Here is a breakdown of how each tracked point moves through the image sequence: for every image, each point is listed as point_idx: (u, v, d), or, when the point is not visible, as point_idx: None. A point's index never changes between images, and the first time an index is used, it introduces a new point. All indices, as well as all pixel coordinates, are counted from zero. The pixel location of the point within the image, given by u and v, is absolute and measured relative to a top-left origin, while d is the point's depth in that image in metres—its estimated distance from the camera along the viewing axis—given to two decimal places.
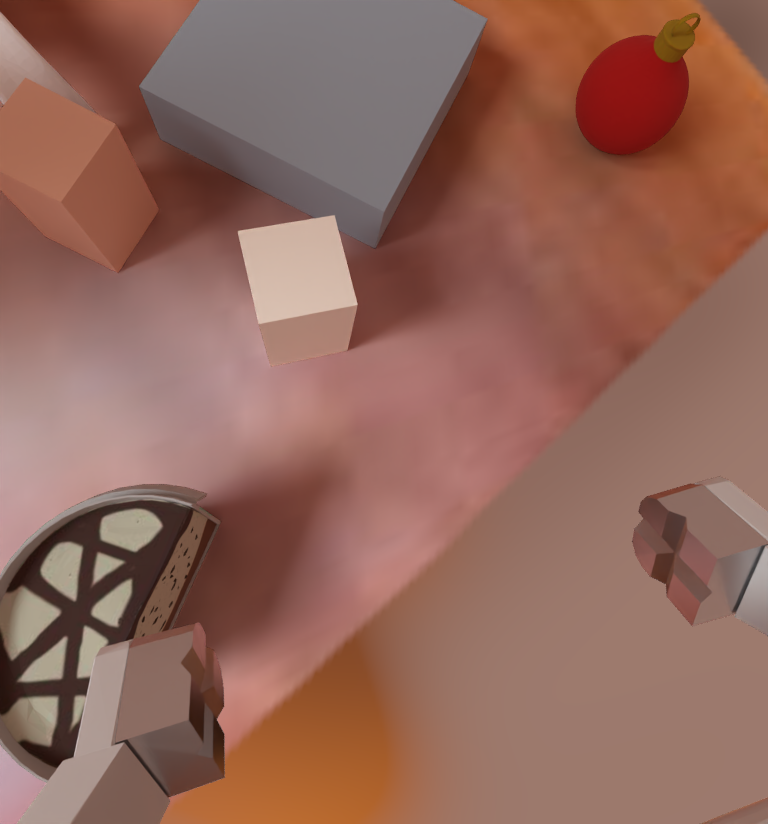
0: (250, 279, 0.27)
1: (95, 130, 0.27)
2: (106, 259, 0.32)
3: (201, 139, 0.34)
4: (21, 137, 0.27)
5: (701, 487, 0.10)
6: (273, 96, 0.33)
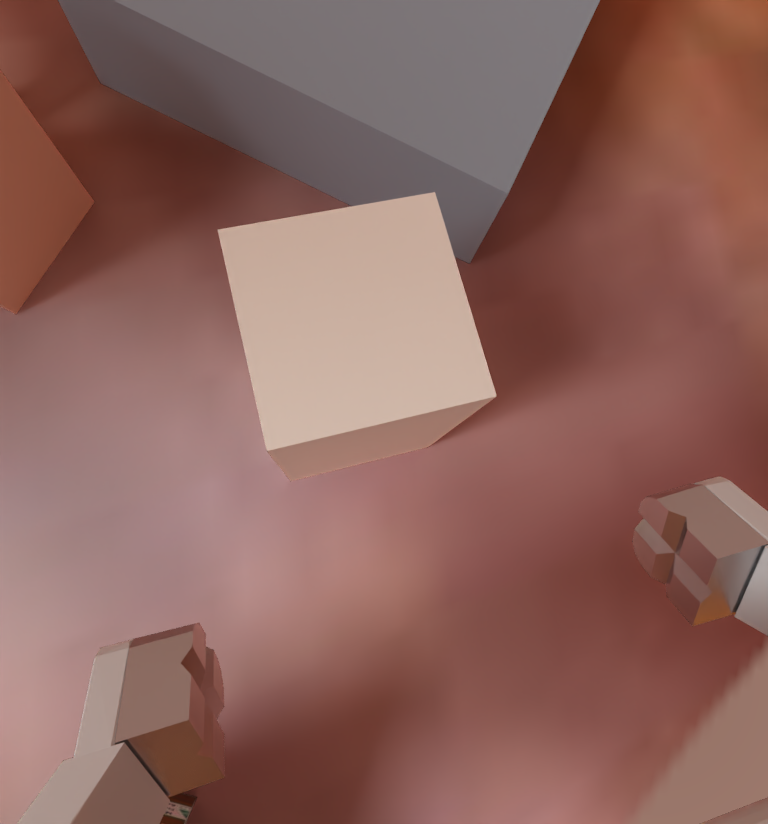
0: (247, 342, 0.11)
1: None
2: None
3: (164, 71, 0.19)
4: None
5: (701, 487, 0.10)
6: None
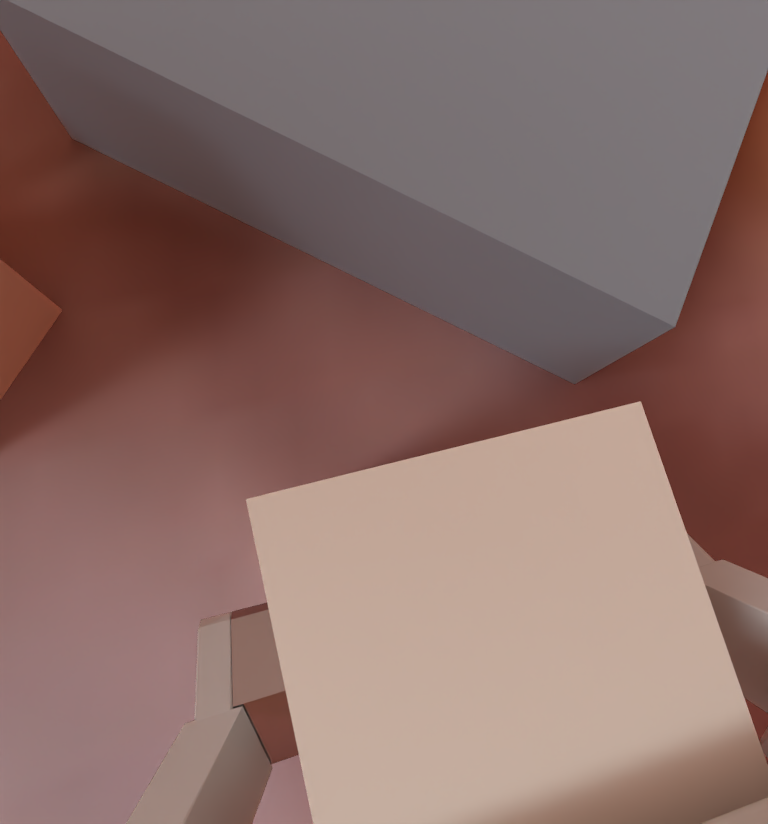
0: (306, 748, 0.06)
1: None
2: None
3: (156, 131, 0.13)
4: None
5: None
6: (348, 8, 0.12)
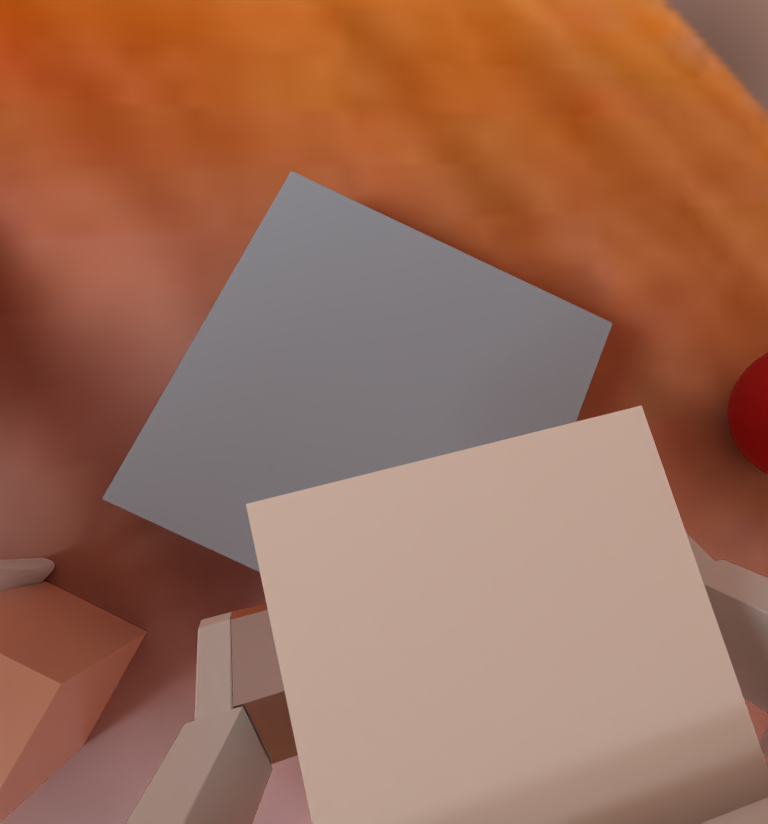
0: (306, 754, 0.06)
1: (25, 701, 0.16)
2: (61, 763, 0.21)
3: None
4: None
5: None
6: None
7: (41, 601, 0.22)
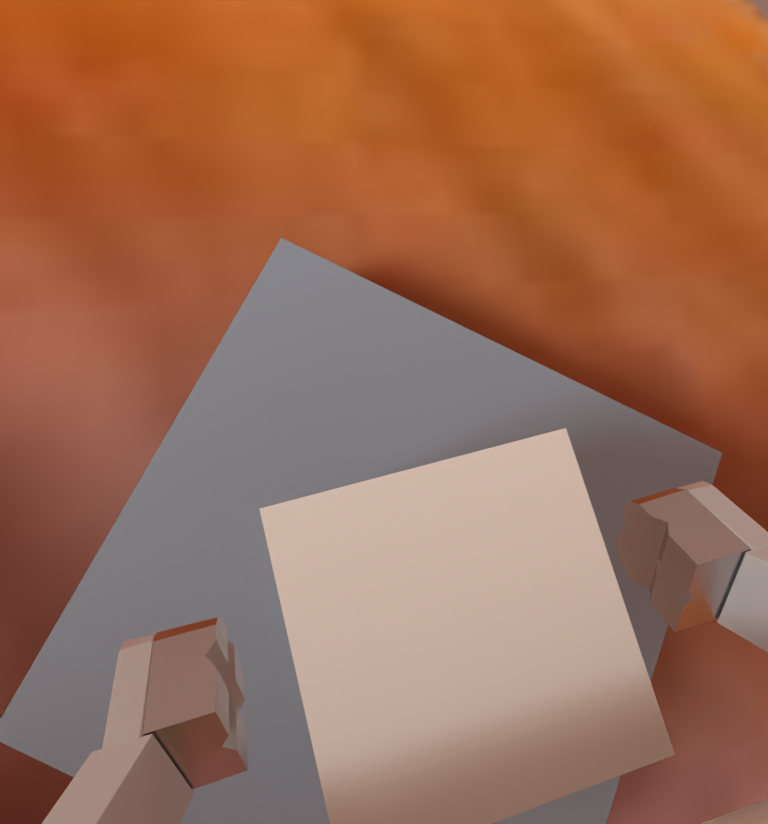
0: (307, 694, 0.08)
1: None
2: None
3: None
4: None
5: (684, 492, 0.10)
6: (293, 715, 0.15)
7: None
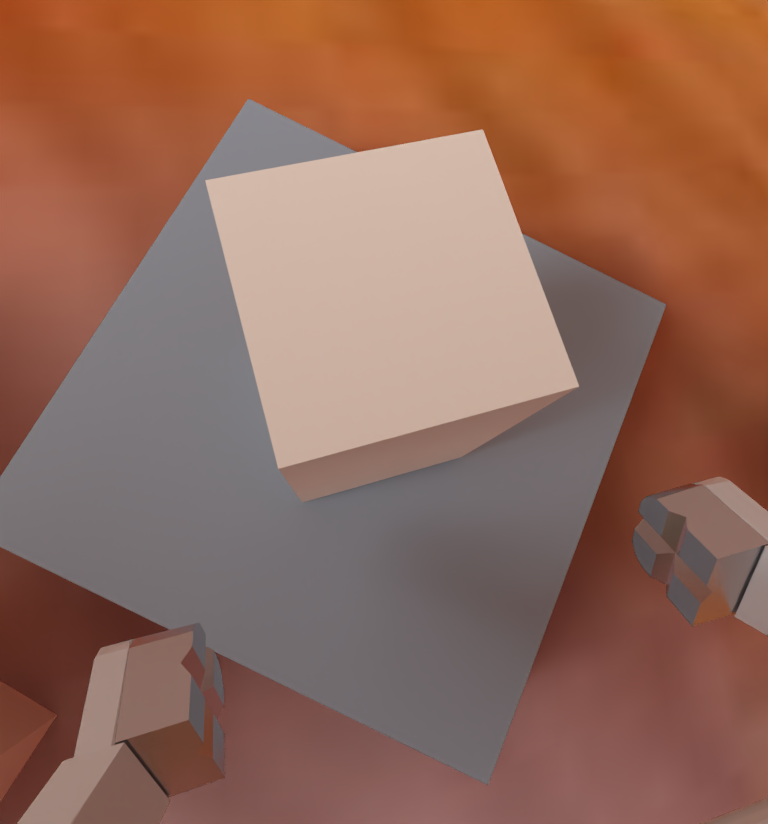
0: (247, 324, 0.08)
1: None
2: None
3: None
4: None
5: (701, 487, 0.10)
6: (251, 522, 0.16)
7: None
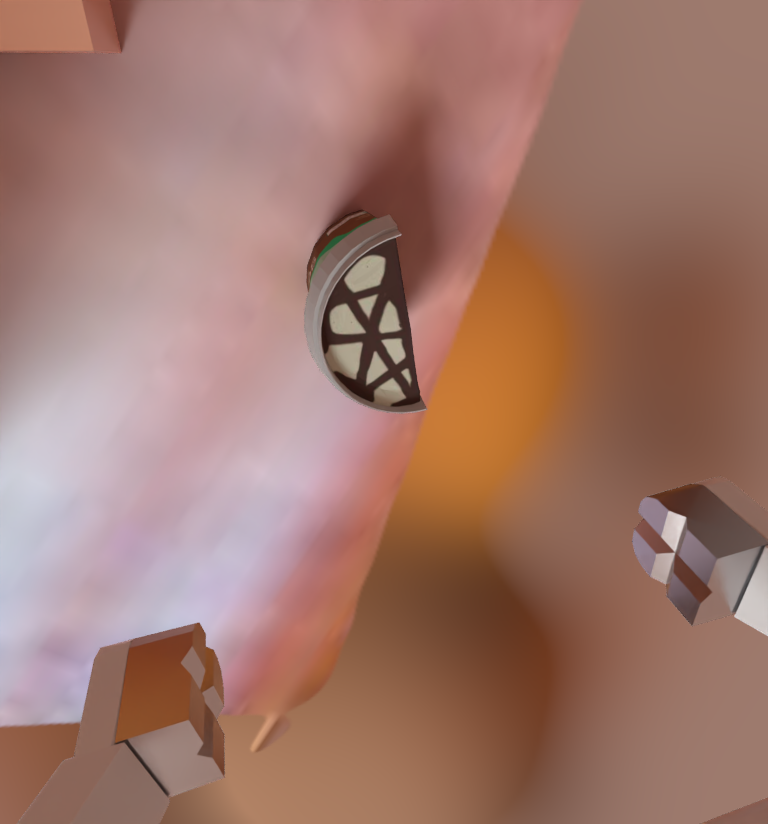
0: None
1: None
2: (114, 52, 0.27)
3: None
4: None
5: (701, 487, 0.10)
6: None
7: None
